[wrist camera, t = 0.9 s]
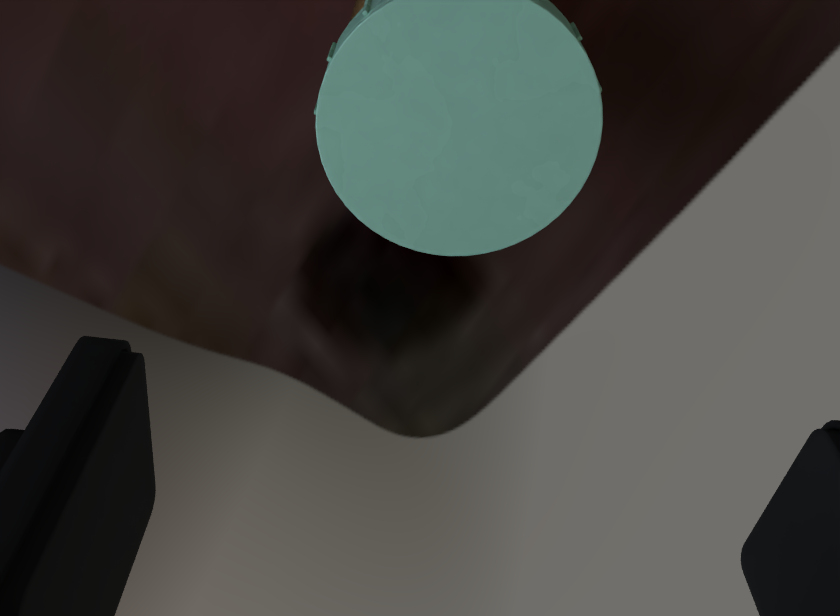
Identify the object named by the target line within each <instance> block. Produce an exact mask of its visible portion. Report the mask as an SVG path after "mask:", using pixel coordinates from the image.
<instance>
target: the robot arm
mask: <svg viewBox="0 0 840 616" xmlns="http://www.w3.org/2000/svg"><path fill="white" fill-rule="evenodd" d="M155 491H156V490H155V475H154V464H153V452H152V441H151V430H150V419H149V407H148V396H147V384H146V373H145V362H144V357H143V355H142V354H141V353H134V352H131V347H130V345H129V343H128V341H125V340H116V339H107V338H98V337H89V336H83V337H81V338H80V339H79V340H78V342H77V343H76V344H75V346H74V348H73V350H72V351H71V353H70V355H69V356H68V358H67V360H66V362H65V363H64V365H63V366H62V368H61V370H60V371H59V373H58V375H57V377H56V378H55V380H54V382H53V383H52V385H51V387H50V388H49V390H48V392H47V393H46V395H45V397H44V399H43V400H42V402H41V404H40V405H39V407H38V409H37V411H36V412H35V414H34V415H33V417H32V419H31V420H30V422H29V424H28V426H27V427H26V429H25V430H18V429H5V430H4V431H2V432H0V616H114V615H115V613H116V610H117V607H118V604H119V602H120V599H121V596H122V593H123V591H124V588H125V585H126V582H127V579H128V577H129V574H130V571H131V568H132V566H133V563H134V560H135V557H136V555H137V552H138V549H139V546H140V544H141V541H142V538H143V535H144V532H145V530H146V527H147V524H148V521H149V519H150V516H151V513H152V509H153V505H154V500H155ZM741 565H742V570H743V573H744V576H745V578H746V581H747V583H748V586H749V589H750V591H751V594H752V596H753V599H754V601H755V604H756V607H757V610H758V612H759V615H760V616H840V421H838V420H831V421H830V422H827V423H826V424H825V425H824V426H823V427H822V428H821V429H817V430H814V431H813V432H812V433H811V435H810V436H809V438H808V439H807V441H806V443H805V444H804V446H803V448H802V449H801V451H800V453H799V454H798V456H797V457H796V459H795V461H794V462H793V464H792V466H791V467H790V469H789V471H788V472H787V474H786V476H785V477H784V479H783V481H782V482H781V484H780V485H779V487H778V489H777V490H776V492H775V494H774V495H773V497H772V499H771V500H770V502H769V504H768V505H767V507H766V509H765V510H764V512H763V514H762V515H761V517H760V519H759V520H758V522H757V523H756V525H755V527H754V528H753V530H752V532H751V533H750V535H749V537H748V538H747V540H746V542H745V543H744V545H743V548H742V552H741Z"/></svg>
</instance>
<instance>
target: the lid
mask: <svg viewBox="0 0 840 616" xmlns="http://www.w3.org/2000/svg"><path fill="white" fill-rule="evenodd" d="M581 40H582V37H581V35H580V33H579V31H578V29H577V27H576V25H575V24H574V22H572V23H571V24H570V23H569V22H568V20H567V19H566V18H565V16H564V15H563V14H562V13H561V12H560V11H559V10H558V9H557V8H556V7H555V5H554V4H552V3H551V2H550V1H549V0H365V4H364V7H363V8H362V9H361V10H360V11H359V12H358V13H357V15H356V16H355V17H354V18H353V19H352V20H351V21H350V23H349V24H348V26H347V27H346V29H345V30H344V32H343V33H342V35H341V36H340V38H339V40H338V42H337V43H335V42H333V44H332V46H331V49H330V52H329V55H328V58H327V61H329V64H328V67H327V70H326V73H325V76H324V79H323V82H322V85H321V88H320V91H319V97H318V101H317V104H316V107H315V110H314V114H316V136H317V145H318V149H319V153H320V157H321V161H322V164H323V167H324V169H325V172H326V174H327V177H328V179H329V181H330V183H331V184H332V186H333V188H334V190H335V192H336V193H337V195H338V196H339V197H340V199H341V200H342V201H343V203H344V204H345V205H346V207H347V208H348V209H349V210H350V211H351V212H352V213H353V214H354V215H355V216H356V217H357V218H358V219H359V220H360V221H361V222H363V223H364V224H365V225H366V226H368V227H369V228H370V229H371V230H373V231H375V232H376V233H378V234H379V235H381V236H382V237H384V238H386V239H388V240H390V241H392V242H394V243H396V244H398V245H401V246H404V247H406V248H409V249H412V250H415V251H419V252H424V253H429V254H434V255H444V256H469V255H477V254H484V253H488V252H492V251H496V250H500V249H503V248H506V247H509V246H511V245H514V244H516V243H518V242H520V241H523V240H525V239H527V238H529V237H531V236H532V235H534V234H535V233H537V232H538V231H540V230H541V229H543V228H545V227H546V226H547V225H548V224H550V223H551V222H552V221H553V220H554V219H556V218H557V217H558V216H559V215H560V214H561V213H562V212H563V211H564V210H565V209H566V208H567V207H568V206H569V205H570V203H571V202H572V201H573V199H574V198H575V197H576V195H577V194H578V193H579V191H580V190H581V188H582V187H583V185H584V183H585V181H586V180H587V178H588V176H589V174H590V172H591V170H592V167H593V165H594V162H595V160H596V157H597V153H598V149H599V145H600V142H601V134H602V126H603V105H602V99H601V92H602V87H601V85H600V83H599V81H598V79H597V77H596V74H595V70H594V68H593V66H592V64H591V62H590V60H589V58H588V55H587V53H586V51H585V49H584V48H583V46H582V44H581V42H580V41H581Z"/></svg>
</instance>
